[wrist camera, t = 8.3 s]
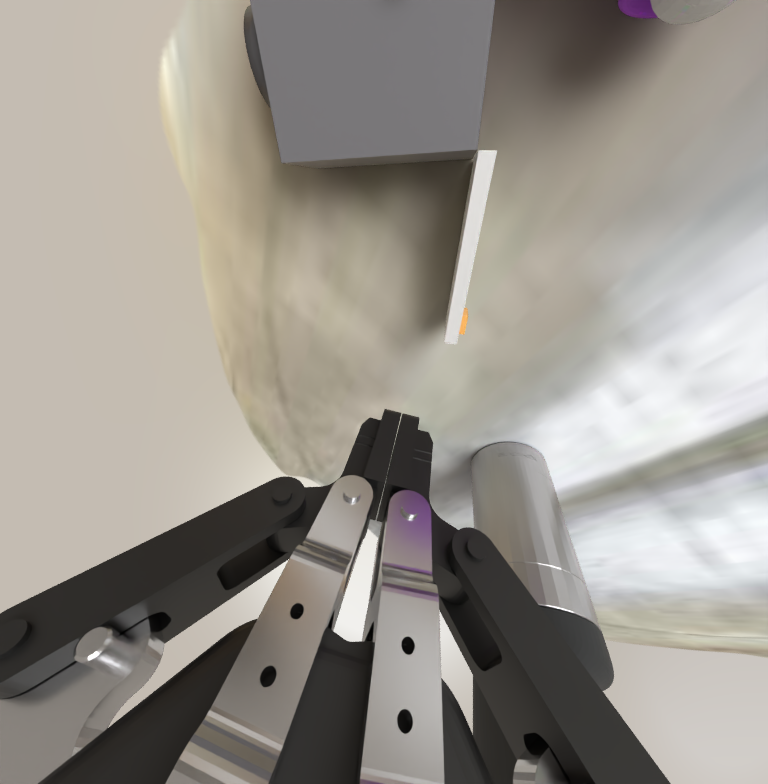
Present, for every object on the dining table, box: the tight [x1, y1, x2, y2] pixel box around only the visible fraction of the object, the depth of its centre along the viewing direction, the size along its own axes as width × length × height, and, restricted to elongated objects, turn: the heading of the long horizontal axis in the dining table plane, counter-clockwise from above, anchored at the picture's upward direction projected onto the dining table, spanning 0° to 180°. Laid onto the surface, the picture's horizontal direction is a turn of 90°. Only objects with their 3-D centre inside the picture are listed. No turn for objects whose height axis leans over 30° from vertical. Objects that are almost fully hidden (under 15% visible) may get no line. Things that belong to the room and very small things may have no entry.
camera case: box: [244, 0, 495, 169], centre depth 16 cm, size 10×13×7 cm
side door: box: [444, 150, 497, 344], centre depth 21 cm, size 2×12×5 cm, turn 178°
